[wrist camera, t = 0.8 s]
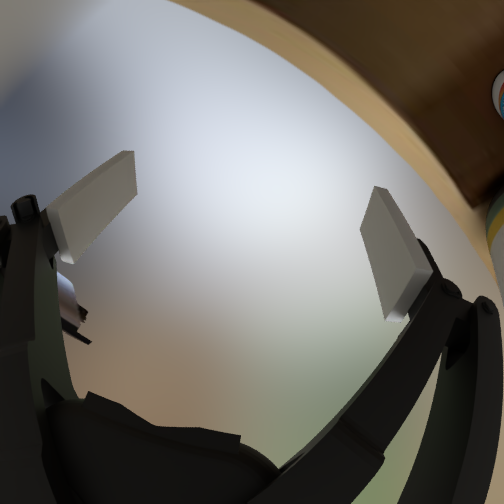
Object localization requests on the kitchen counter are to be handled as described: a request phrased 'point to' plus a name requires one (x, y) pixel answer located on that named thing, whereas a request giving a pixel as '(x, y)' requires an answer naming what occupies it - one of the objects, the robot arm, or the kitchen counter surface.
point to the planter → (496, 236)
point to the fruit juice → (499, 94)
